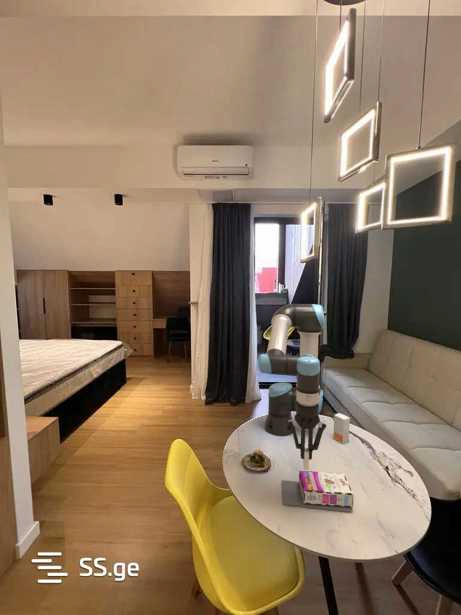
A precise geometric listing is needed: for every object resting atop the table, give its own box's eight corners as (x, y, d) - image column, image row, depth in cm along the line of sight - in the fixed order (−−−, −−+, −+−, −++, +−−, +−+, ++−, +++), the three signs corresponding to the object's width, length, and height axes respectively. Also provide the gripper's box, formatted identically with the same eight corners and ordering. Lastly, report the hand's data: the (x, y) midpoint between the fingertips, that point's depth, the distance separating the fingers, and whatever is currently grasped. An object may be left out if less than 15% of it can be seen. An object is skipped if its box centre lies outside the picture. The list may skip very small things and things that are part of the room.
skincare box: (332, 438, 142) (333, 414, 141) (339, 436, 144) (339, 412, 143) (343, 444, 136) (344, 419, 135) (349, 442, 138) (350, 417, 137)
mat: (281, 481, 111) (281, 480, 111) (342, 487, 107) (342, 485, 107) (283, 505, 99) (283, 503, 99) (351, 512, 96) (351, 511, 96)
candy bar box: (303, 504, 98) (353, 508, 97) (303, 490, 98) (354, 494, 96) (298, 482, 109) (344, 485, 108) (298, 469, 109) (344, 472, 107)
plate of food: (236, 462, 123) (236, 445, 122) (258, 453, 129) (259, 437, 129) (254, 478, 113) (254, 460, 112) (277, 468, 119) (277, 450, 119)
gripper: (288, 405, 98) (287, 472, 100) (329, 408, 96) (327, 476, 98) (287, 397, 105) (286, 459, 107) (325, 399, 104) (323, 462, 105)
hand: (305, 467), depth 103 cm, fingers closed
